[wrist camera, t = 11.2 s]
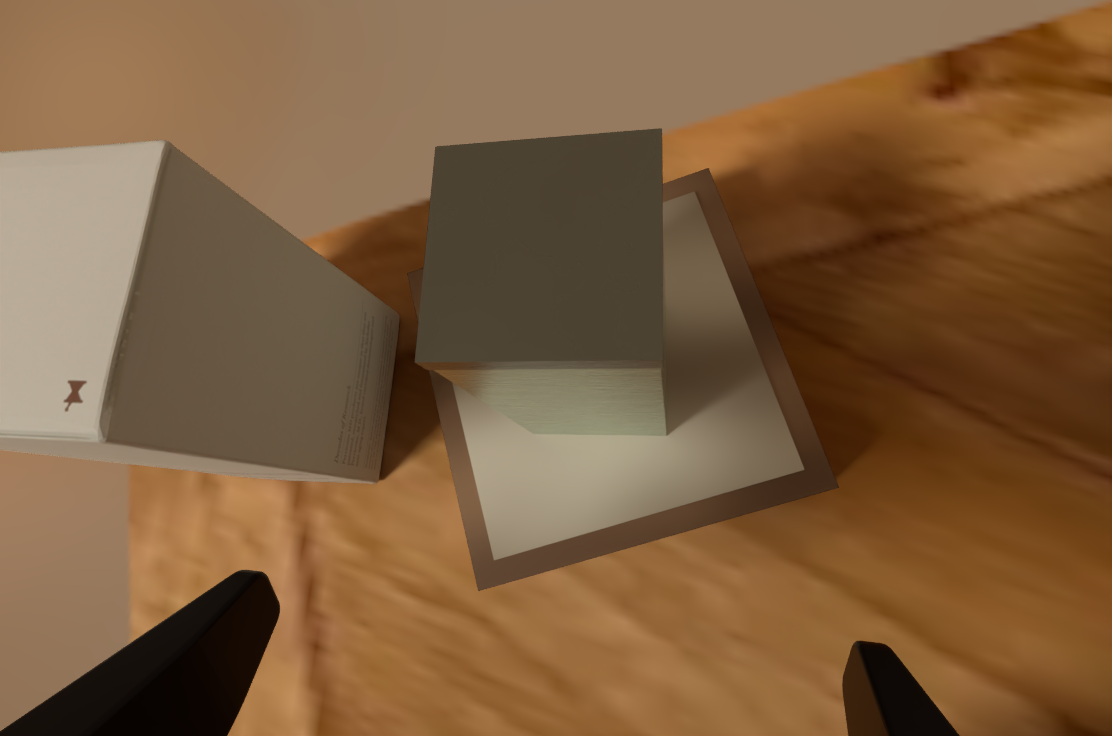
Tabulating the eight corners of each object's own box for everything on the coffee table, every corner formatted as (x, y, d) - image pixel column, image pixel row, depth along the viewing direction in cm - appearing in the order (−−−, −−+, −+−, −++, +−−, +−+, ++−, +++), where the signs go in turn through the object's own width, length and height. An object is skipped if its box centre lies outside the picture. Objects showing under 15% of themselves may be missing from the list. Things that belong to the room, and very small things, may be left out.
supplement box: (406, 311, 26) (176, 130, 14) (381, 488, 24) (96, 453, 12) (253, 310, 28) (-73, 145, 16) (220, 476, 26) (-176, 435, 14)
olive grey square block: (668, 437, 20) (662, 359, 11) (532, 435, 21) (414, 362, 11) (667, 305, 21) (661, 128, 12) (538, 309, 22) (435, 146, 13)
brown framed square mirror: (820, 491, 21) (840, 487, 19) (498, 583, 23) (476, 591, 20) (705, 202, 25) (708, 165, 22) (431, 296, 26) (405, 271, 24)
